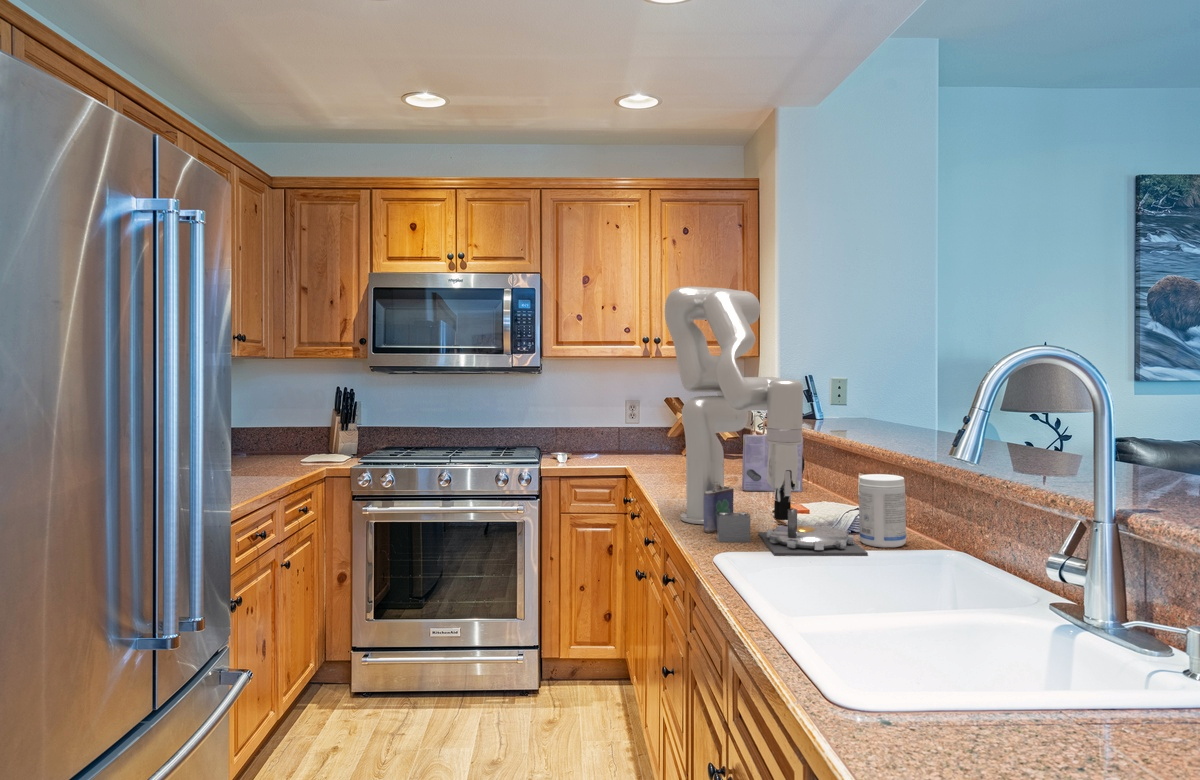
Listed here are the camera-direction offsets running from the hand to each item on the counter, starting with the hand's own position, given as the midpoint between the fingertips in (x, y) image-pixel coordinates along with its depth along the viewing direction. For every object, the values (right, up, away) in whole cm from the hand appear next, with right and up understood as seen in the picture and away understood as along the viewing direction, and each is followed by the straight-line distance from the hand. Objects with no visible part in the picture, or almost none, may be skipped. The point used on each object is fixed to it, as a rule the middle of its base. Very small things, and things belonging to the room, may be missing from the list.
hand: (782, 518), depth 161 cm
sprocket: (+6, -4, -1) cm, 7 cm away
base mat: (+6, -6, 0) cm, 8 cm away
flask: (-11, -5, +15) cm, 20 cm away
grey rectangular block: (-10, -6, +4) cm, 12 cm away
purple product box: (+15, -4, +69) cm, 71 cm away
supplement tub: (+22, -6, 0) cm, 23 cm away
